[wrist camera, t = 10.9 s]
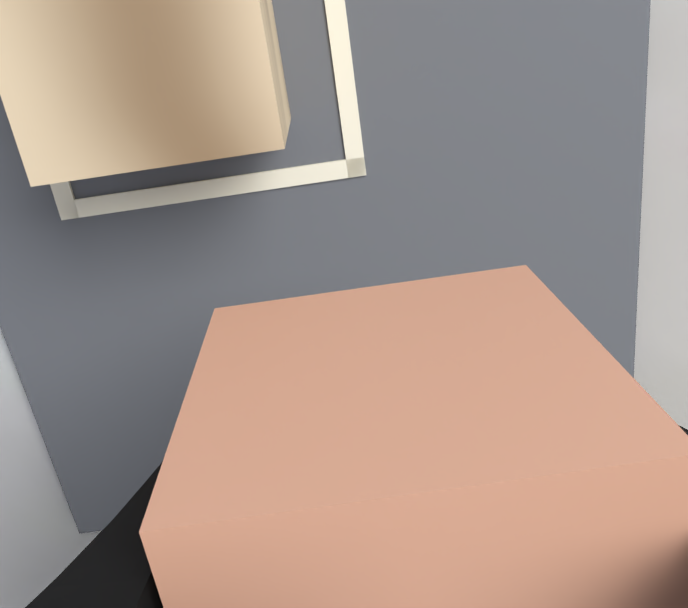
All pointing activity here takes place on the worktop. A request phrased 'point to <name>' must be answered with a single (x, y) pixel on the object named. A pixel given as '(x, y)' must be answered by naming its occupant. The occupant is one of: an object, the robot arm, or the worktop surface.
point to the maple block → (139, 84)
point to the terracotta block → (418, 458)
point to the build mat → (332, 209)
